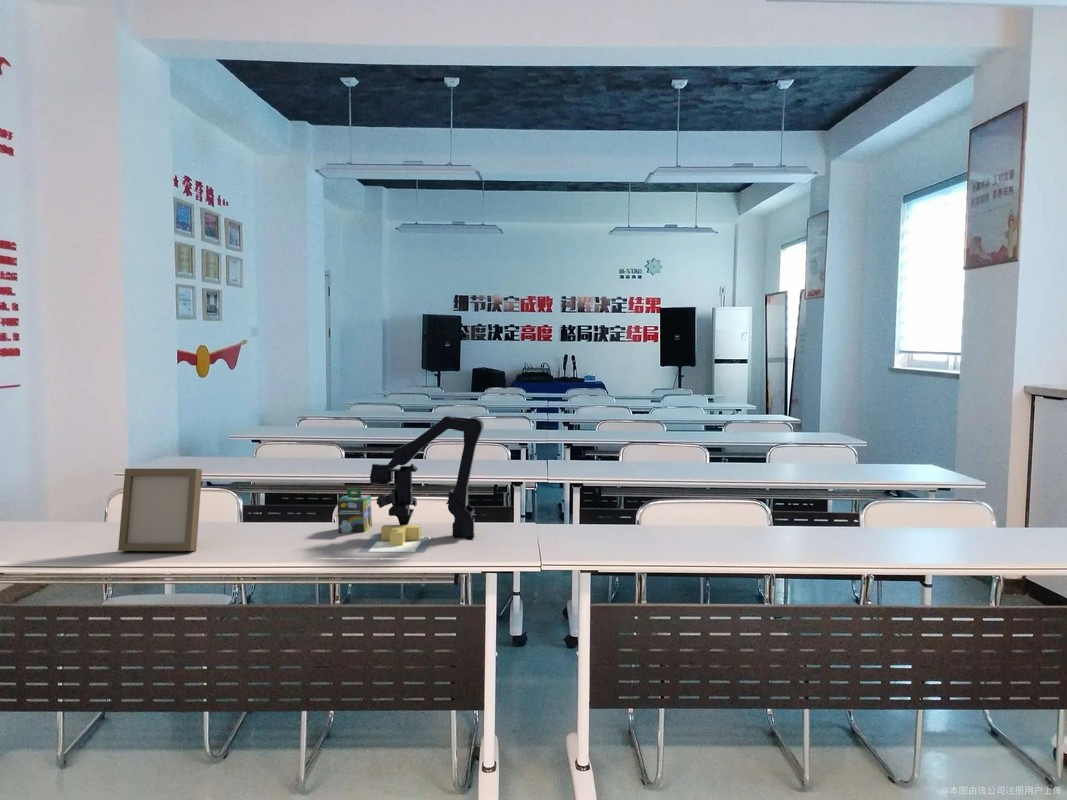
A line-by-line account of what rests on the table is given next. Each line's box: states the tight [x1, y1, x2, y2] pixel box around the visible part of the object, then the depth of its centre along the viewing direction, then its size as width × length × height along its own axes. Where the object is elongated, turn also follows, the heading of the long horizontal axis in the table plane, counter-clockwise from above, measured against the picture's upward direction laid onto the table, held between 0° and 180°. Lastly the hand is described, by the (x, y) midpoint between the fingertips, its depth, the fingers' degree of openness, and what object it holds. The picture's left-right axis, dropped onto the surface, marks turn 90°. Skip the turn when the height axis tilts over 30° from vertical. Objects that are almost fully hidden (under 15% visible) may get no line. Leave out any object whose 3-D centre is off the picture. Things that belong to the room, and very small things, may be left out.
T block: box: [380, 524, 422, 545], centre depth 258 cm, size 12×11×4 cm
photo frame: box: [117, 468, 203, 552], centre depth 250 cm, size 15×22×25 cm
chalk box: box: [337, 487, 373, 533], centre depth 275 cm, size 9×9×15 cm
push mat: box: [357, 535, 433, 554], centre depth 254 cm, size 20×21×1 cm
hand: (403, 532), depth 266 cm, fingers closed
